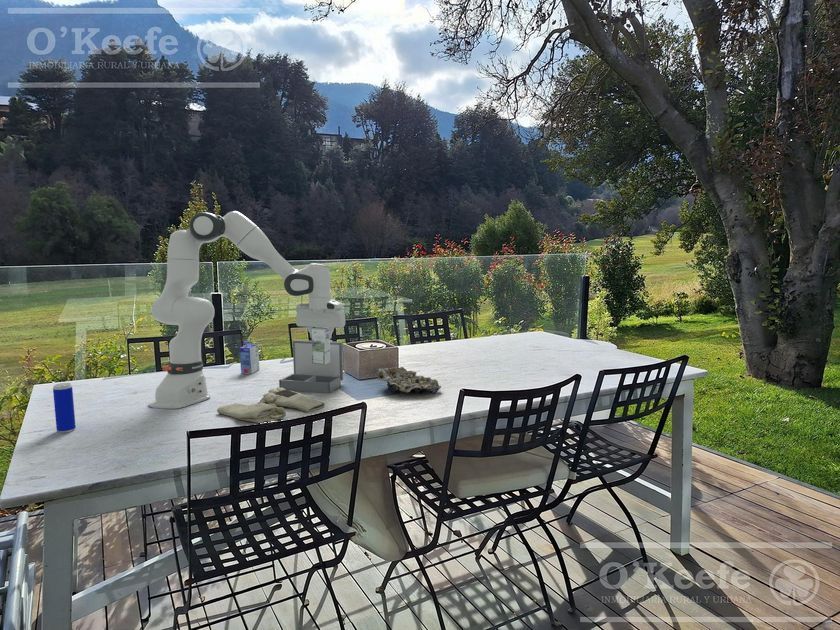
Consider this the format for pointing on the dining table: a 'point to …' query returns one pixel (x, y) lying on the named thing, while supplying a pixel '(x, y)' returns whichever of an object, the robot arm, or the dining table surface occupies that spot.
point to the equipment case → (314, 369)
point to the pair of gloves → (271, 406)
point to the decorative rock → (406, 380)
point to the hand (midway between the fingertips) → (320, 338)
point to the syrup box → (320, 346)
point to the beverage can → (64, 407)
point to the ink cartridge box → (249, 358)
